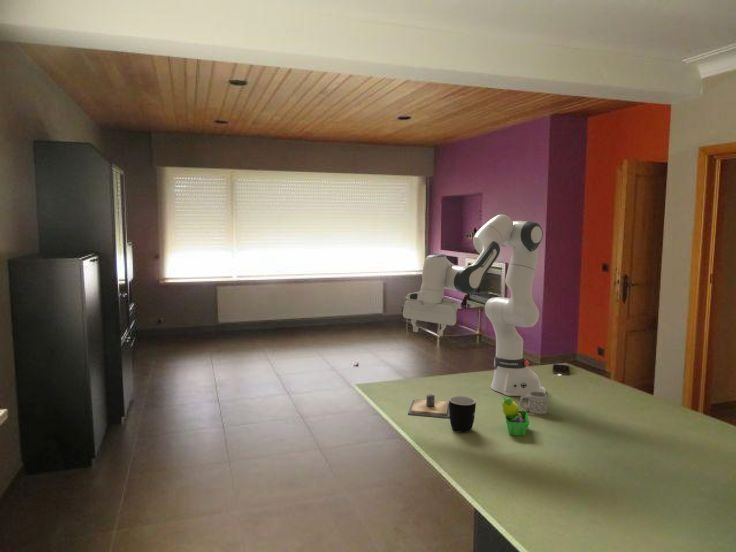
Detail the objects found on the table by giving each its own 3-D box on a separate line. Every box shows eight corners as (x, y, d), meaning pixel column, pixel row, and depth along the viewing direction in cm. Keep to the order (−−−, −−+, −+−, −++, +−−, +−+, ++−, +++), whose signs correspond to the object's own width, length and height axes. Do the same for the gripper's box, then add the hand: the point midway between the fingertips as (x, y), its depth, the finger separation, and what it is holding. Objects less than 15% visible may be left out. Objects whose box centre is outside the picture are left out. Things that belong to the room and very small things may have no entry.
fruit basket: (529, 438, 173) (530, 405, 172) (501, 435, 175) (503, 402, 174) (526, 425, 184) (527, 394, 183) (500, 422, 186) (501, 392, 185)
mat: (451, 404, 204) (451, 403, 204) (449, 418, 190) (449, 416, 190) (413, 401, 207) (413, 399, 207) (407, 414, 193) (407, 413, 193)
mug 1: (476, 434, 175) (477, 405, 174) (449, 433, 176) (450, 404, 174) (471, 421, 187) (471, 393, 186) (445, 420, 187) (446, 393, 186)
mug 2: (544, 408, 201) (545, 391, 200) (548, 415, 195) (549, 397, 194) (517, 407, 202) (518, 390, 201) (520, 413, 196) (521, 396, 195)
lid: (448, 403, 203) (449, 391, 203) (446, 415, 191) (446, 402, 190) (415, 400, 206) (415, 389, 206) (411, 412, 193) (411, 399, 193)
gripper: (460, 300, 194) (456, 337, 195) (409, 293, 203) (405, 328, 203) (456, 301, 189) (451, 339, 189) (403, 293, 197) (399, 330, 198)
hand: (427, 333), depth 196 cm, fingers open, 8 cm apart
